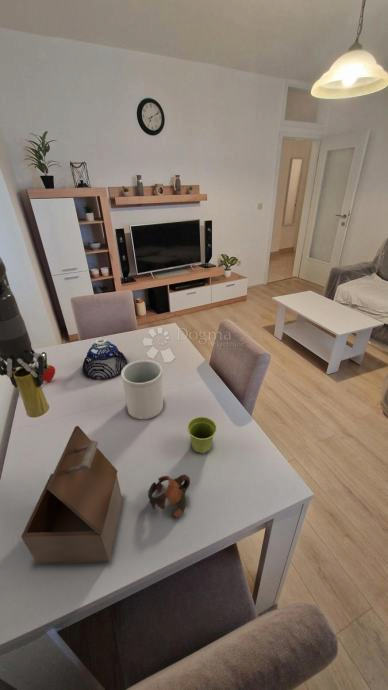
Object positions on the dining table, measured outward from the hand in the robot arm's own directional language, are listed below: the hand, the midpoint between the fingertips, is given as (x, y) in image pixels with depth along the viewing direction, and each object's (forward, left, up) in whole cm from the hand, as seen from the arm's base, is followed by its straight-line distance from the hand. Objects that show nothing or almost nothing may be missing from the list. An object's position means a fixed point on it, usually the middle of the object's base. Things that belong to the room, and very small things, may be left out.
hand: (29, 385), depth 78 cm
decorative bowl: (+5, +47, -27) cm, 55 cm away
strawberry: (-17, +36, -27) cm, 48 cm away
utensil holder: (+28, +19, -27) cm, 43 cm away
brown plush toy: (+40, -18, -27) cm, 51 cm away
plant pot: (+49, 0, -27) cm, 56 cm away
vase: (0, 0, -10) cm, 10 cm away
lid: (+23, -25, -6) cm, 34 cm away
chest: (+18, -25, -27) cm, 40 cm away
